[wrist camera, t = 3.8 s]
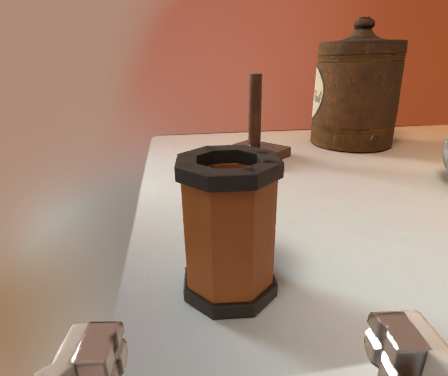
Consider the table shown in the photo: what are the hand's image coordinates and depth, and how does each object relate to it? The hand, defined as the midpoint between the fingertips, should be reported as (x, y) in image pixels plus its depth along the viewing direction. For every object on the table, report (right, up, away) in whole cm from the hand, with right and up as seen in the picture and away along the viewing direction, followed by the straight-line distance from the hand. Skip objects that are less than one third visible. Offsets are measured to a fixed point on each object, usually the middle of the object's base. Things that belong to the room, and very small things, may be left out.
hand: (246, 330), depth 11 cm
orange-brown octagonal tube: (0, -3, +14) cm, 14 cm away
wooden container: (+24, +13, +53) cm, 60 cm away
